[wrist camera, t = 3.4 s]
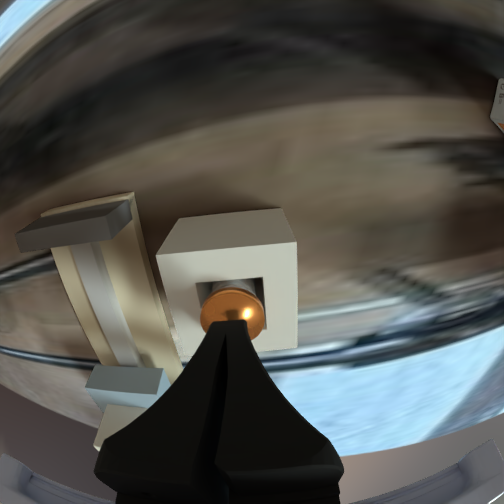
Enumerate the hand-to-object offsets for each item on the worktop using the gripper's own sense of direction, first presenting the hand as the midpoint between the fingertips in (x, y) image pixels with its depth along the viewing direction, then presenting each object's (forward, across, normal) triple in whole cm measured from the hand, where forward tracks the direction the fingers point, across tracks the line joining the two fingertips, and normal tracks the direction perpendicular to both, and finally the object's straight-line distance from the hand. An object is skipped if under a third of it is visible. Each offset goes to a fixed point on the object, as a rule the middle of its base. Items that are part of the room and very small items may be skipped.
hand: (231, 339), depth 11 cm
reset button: (+7, 0, 0) cm, 7 cm away
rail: (+7, +9, +5) cm, 12 cm away
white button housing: (+7, 0, 0) cm, 7 cm away
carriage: (+5, +9, +10) cm, 14 cm away
